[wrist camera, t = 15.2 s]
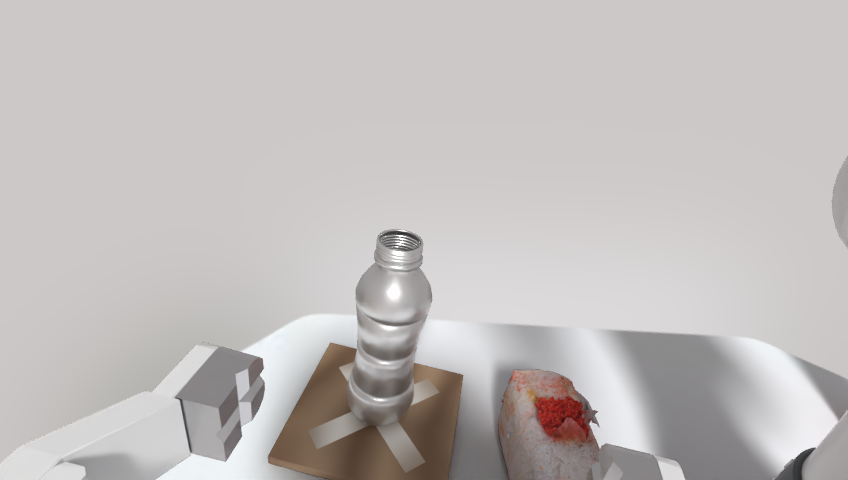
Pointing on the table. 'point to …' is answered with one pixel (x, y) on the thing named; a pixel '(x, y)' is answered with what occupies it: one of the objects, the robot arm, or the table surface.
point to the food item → (546, 428)
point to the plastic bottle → (388, 329)
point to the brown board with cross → (369, 428)
